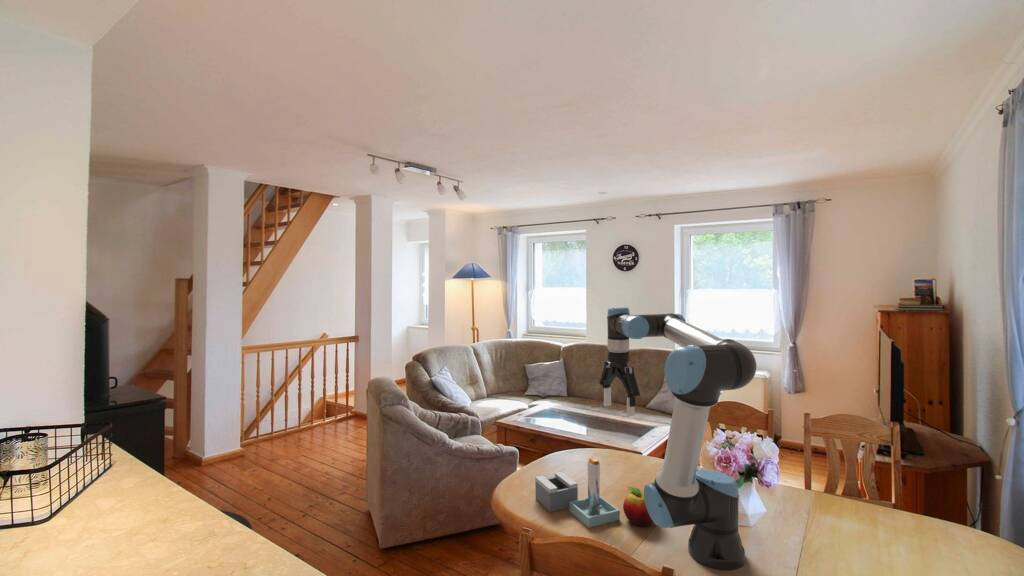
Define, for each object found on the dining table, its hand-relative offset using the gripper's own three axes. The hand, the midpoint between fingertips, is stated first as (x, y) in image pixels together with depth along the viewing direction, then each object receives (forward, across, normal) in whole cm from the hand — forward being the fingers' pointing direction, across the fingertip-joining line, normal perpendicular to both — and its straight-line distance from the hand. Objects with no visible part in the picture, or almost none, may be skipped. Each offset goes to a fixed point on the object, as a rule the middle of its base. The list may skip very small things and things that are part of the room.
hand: (618, 410), depth 170 cm
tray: (+33, -4, +14) cm, 36 cm away
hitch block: (+33, +9, +20) cm, 40 cm away
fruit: (+33, -14, +2) cm, 36 cm away
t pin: (+32, -4, +14) cm, 35 cm away
